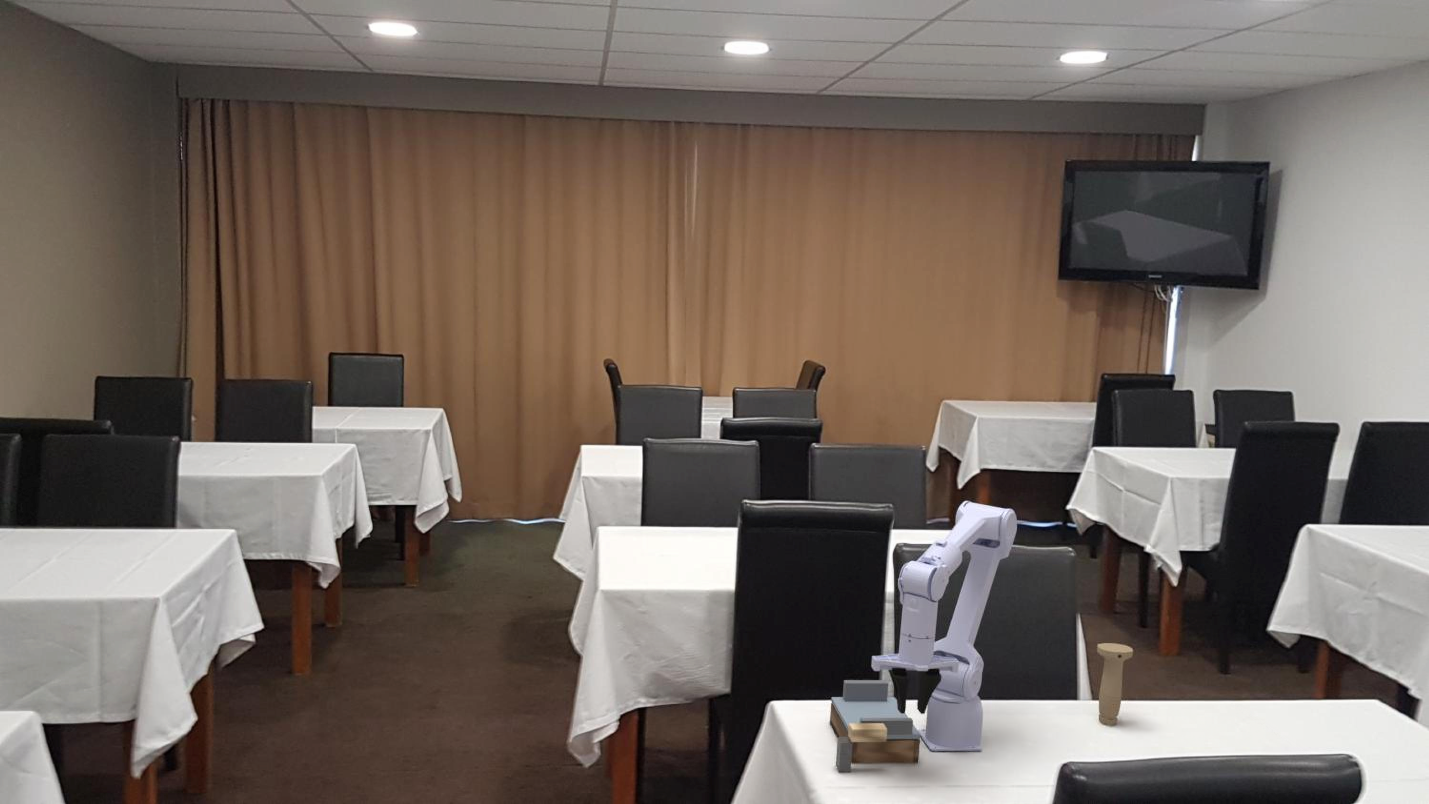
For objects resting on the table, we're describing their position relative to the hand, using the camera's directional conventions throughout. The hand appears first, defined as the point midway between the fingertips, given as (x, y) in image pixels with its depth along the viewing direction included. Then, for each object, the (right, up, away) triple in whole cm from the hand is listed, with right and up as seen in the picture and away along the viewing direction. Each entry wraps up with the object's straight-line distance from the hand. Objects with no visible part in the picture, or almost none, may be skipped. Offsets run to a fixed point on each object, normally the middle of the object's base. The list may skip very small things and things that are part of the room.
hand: (911, 711), depth 182 cm
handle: (+42, -10, +25) cm, 50 cm away
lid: (-5, -5, +11) cm, 13 cm away
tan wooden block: (-7, -5, 0) cm, 9 cm away
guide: (-11, -10, 0) cm, 15 cm away
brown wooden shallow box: (-5, -9, +11) cm, 15 cm away
